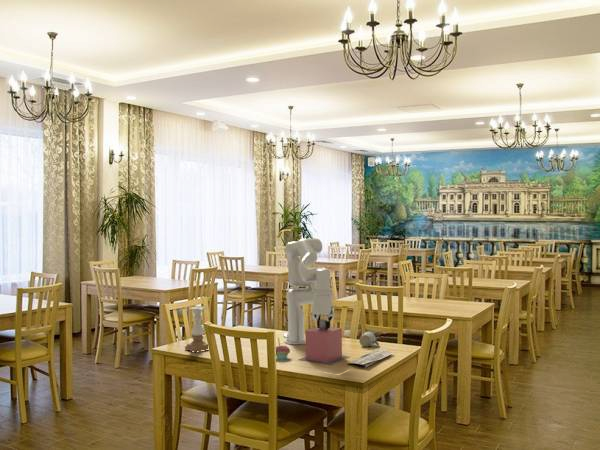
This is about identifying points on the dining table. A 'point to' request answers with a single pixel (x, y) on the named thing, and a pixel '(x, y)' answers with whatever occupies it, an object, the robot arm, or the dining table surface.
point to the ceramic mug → (368, 340)
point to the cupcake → (282, 351)
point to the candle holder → (197, 331)
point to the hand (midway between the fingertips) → (323, 327)
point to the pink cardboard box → (323, 343)
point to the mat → (324, 362)
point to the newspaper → (371, 357)
